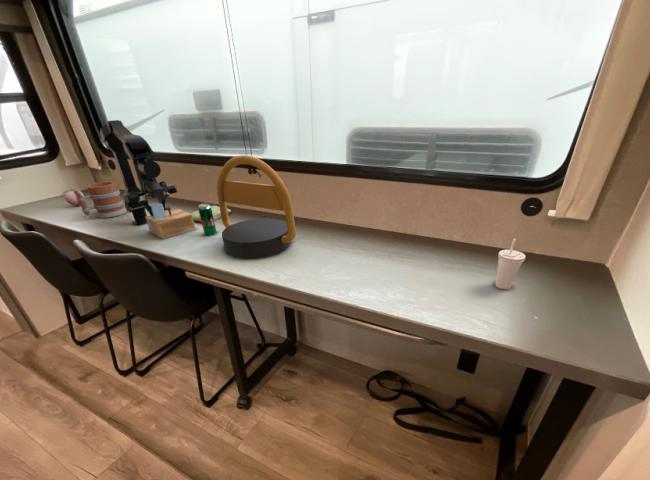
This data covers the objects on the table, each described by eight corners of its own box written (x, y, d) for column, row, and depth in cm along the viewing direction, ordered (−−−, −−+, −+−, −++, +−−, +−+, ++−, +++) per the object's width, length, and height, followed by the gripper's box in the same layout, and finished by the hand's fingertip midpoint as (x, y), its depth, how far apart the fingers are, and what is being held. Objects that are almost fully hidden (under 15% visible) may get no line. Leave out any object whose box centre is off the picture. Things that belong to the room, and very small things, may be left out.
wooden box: (150, 231, 144) (145, 218, 141) (182, 222, 152) (178, 210, 149) (162, 239, 136) (158, 225, 132) (195, 229, 144) (192, 216, 141)
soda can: (213, 236, 136) (206, 207, 129) (202, 235, 137) (194, 206, 130) (218, 231, 140) (212, 203, 134) (208, 231, 141) (201, 203, 135)
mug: (132, 212, 170) (121, 182, 162) (91, 223, 158) (77, 191, 150) (121, 208, 178) (110, 179, 170) (81, 218, 166) (68, 187, 158)
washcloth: (233, 212, 161) (231, 206, 159) (205, 224, 149) (203, 217, 147) (214, 209, 167) (212, 203, 165) (186, 220, 155) (184, 213, 153)
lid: (145, 218, 141) (141, 208, 139) (177, 209, 150) (175, 200, 147) (158, 225, 132) (154, 215, 130) (192, 216, 141) (189, 206, 138)
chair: (246, 227, 142) (232, 148, 125) (314, 241, 126) (309, 151, 109) (201, 248, 125) (178, 159, 108) (274, 267, 109) (260, 166, 92)
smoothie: (486, 281, 95) (497, 235, 87) (507, 279, 95) (521, 233, 88) (498, 292, 90) (511, 244, 82) (520, 290, 90) (536, 242, 82)
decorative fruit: (85, 202, 191) (78, 185, 185) (89, 205, 185) (81, 187, 180) (67, 206, 186) (58, 188, 180) (69, 209, 180) (61, 190, 175)
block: (151, 217, 135) (146, 204, 132) (161, 214, 137) (157, 201, 134) (155, 219, 132) (151, 206, 129) (166, 216, 134) (162, 203, 132)
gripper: (126, 182, 115) (141, 225, 124) (177, 172, 126) (188, 212, 134) (116, 178, 122) (131, 219, 130) (165, 169, 133) (176, 207, 141)
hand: (157, 214), depth 134 cm, fingers closed on block, 4 cm apart
